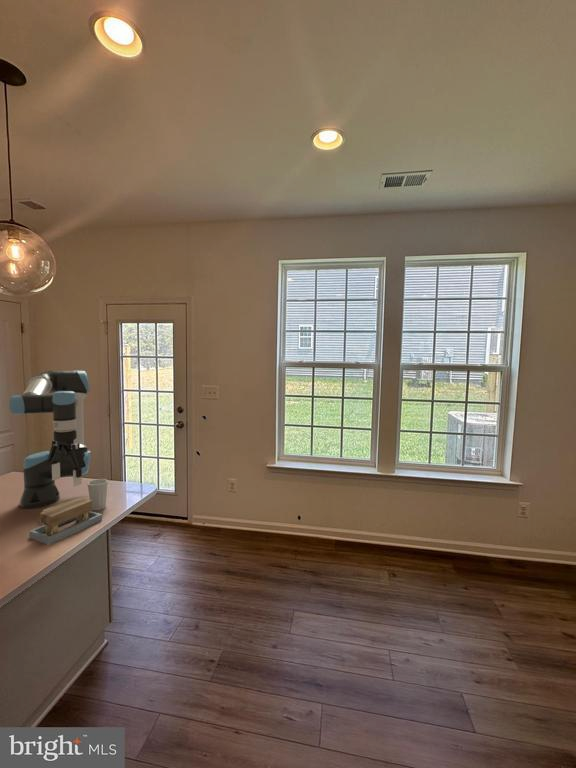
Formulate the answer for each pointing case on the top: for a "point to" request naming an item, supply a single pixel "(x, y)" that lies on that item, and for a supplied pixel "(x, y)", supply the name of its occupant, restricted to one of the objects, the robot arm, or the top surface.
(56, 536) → the frame
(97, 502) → the cup
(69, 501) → the block
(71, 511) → the board
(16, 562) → the top surface
